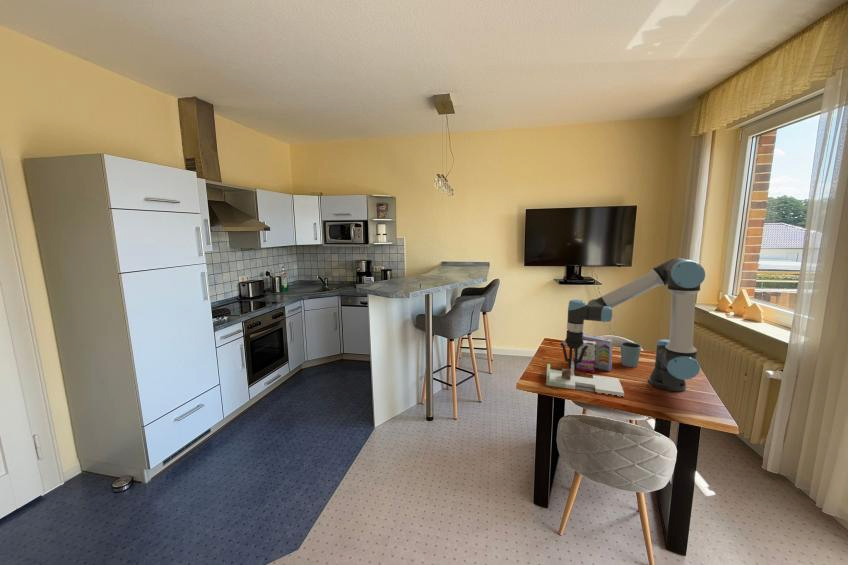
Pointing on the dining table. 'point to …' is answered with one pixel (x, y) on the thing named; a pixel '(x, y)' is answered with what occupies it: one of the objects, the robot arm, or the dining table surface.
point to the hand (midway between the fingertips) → (571, 374)
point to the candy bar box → (587, 357)
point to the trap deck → (585, 383)
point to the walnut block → (566, 373)
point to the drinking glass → (630, 354)
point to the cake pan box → (601, 351)
